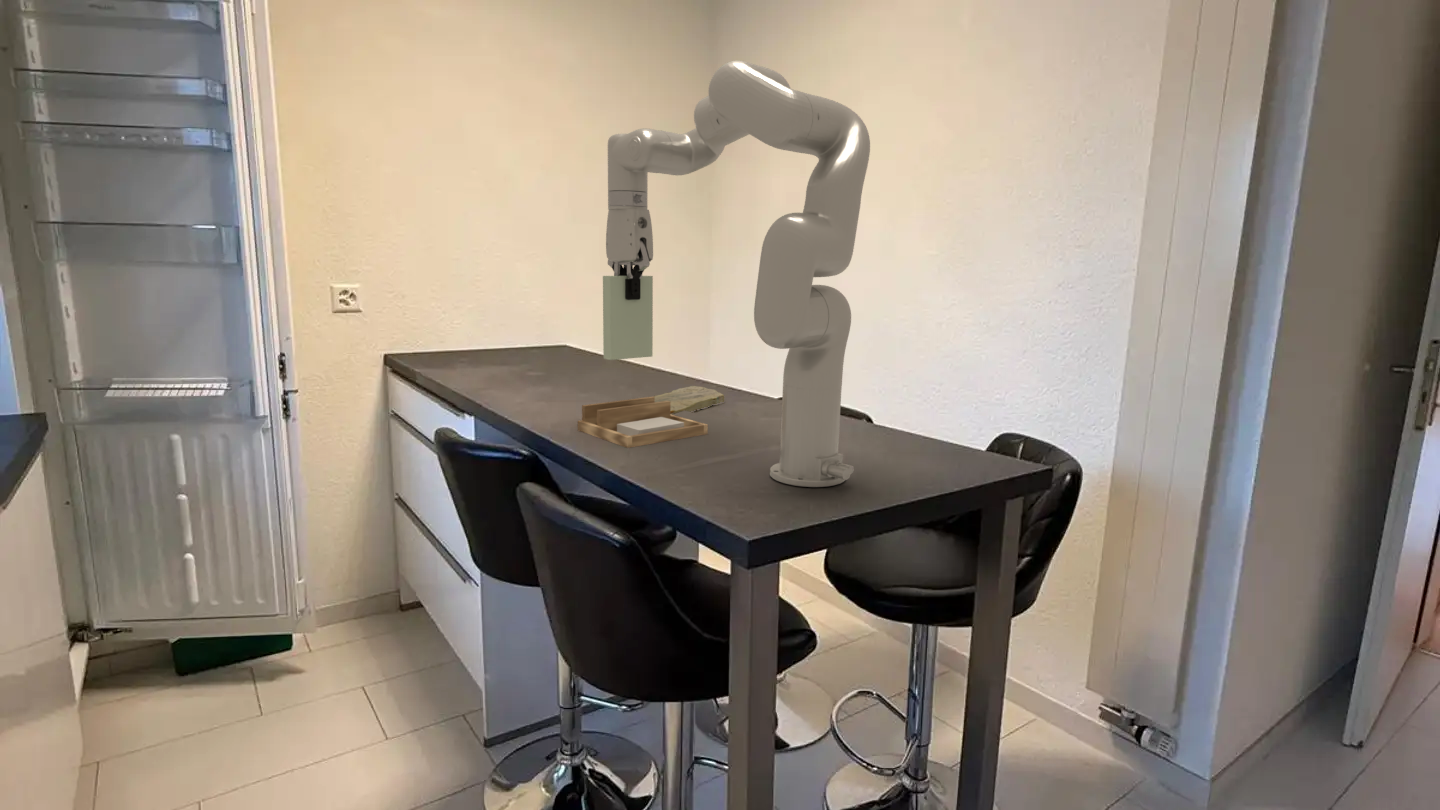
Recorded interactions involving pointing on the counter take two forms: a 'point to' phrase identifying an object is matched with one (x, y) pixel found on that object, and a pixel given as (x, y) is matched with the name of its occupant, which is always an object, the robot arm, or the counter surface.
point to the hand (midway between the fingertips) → (628, 298)
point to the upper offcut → (648, 426)
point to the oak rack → (608, 414)
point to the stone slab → (690, 398)
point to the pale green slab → (627, 319)
